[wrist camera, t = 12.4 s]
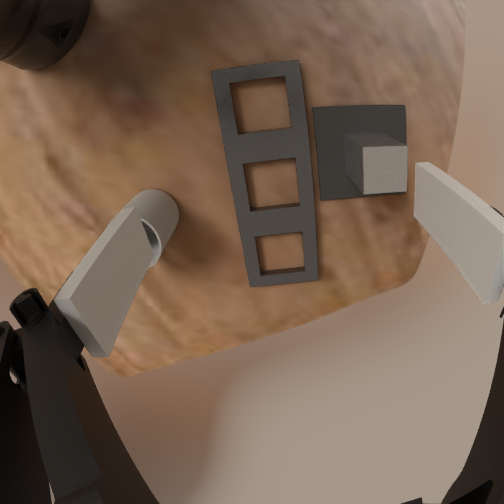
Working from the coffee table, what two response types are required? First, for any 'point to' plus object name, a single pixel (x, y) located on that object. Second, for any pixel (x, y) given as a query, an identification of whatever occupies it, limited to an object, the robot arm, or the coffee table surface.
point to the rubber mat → (332, 142)
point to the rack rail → (263, 149)
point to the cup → (156, 218)
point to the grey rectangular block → (376, 162)
